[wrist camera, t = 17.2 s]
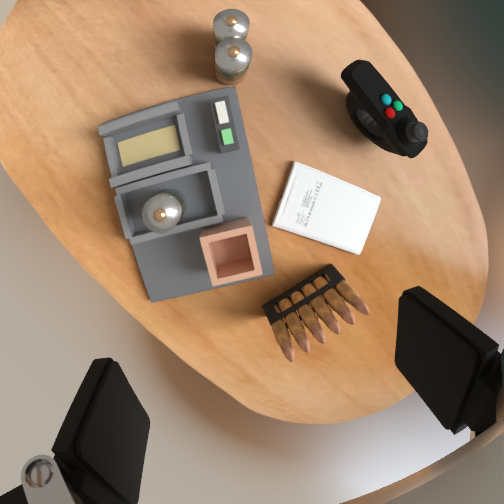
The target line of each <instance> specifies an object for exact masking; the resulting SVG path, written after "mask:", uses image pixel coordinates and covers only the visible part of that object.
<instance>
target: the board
mask: <svg viewBox="0 0 504 504" xmlns="http://www.w3.org/2000/svg"><path fill="white" fill-rule="evenodd" d="M102 124H103V125H102V126H99V127H98V130H99V135H100V136H104V137H105V138H103V140H104V145H105V150H106V155H107V159H108V164H109V169H110V173H111V177H112V178H110V179H109V182H110V186H111V188H112V187H116V189H115V190H116V194H117V196H114V199H115V203H116V207H117V211H118V214H119V218H120V221H121V225H122V228H123V232H124V235H125V239H128V238H129V241H130V244H131V245H132V247H133V250H134V253H135V257H136V260H137V263H138V266H139V269H140V272H141V275H142V278H143V281H144V283H145V286H146V289H147V292H148V295H149V297H150V300H151V303H152V302H157V301H162V300H166V299H171V298H175V297H180V296H185V295H189V294H193V293H198V292H202V291H207V290H211V289H216V288H220V287H224V286H228V285H233V284H237V283H241V282H245V281H250V280H254V279H258V278H262V277H266V276H270V275H275V272H274V267H273V262H272V257H271V252H270V247H269V242H268V237H267V232H266V227H265V222H264V218H263V213H262V208H261V203H260V198H259V194H258V189H257V184H256V179H255V175H254V170H253V165H252V161H251V156H250V151H249V147H248V142H247V138H246V133H245V128H244V124H243V119H242V115H241V111H240V106H239V102H238V97H237V93H236V88H235V86H234V87H229V88H224V89H219V90H214V91H210V92H205V93H201V94H196V95H192V96H188V97H184V98H180V99H177V100H173V101H169V102H166V103H162V104H159V105H155V106H152V107H149V108H145V109H142V110H139V111H136V112H133V113H130V114H127V115H124V116H121V117H118V118H116V119H113V120H110V121H107V122H105V123H102ZM168 189H175V190H178V191H180V192H181V193H182V194H183V195H184V196H185V198H186V202H187V207H186V211H185V213H184V214H183V216H182V218H181V219H180V221H179V222H178V223H177V225H176V226H175V227H174V228H173V229H172V230H171V231H169V232H167V233H162V234H160V233H155V232H153V231H151V230H149V229H148V228H147V227H146V225H145V224H144V222H143V219H142V210H143V207H144V205H145V203H146V202H147V201H148V200H149V199H150V198H152V197H154V196H155V195H157V194H159V193H161V192H163V191H165V190H168ZM246 217H248V219H249V221H250V222H251V224H252V227H253V231H254V236H255V241H256V245H257V250H258V255H259V259H260V264H261V269H262V273H263V275H259V276H255V277H251V278H247V279H243V280H238V281H234V282H230V283H226V284H221V285H217V286H212V282H211V279H210V275H209V271H208V268H207V264H206V261H205V257H204V253H203V249H202V246H201V242H200V238H199V237H200V233H201V229H202V228H204V227H208V226H212V225H216V224H220V223H224V222H229V221H233V220H237V219H242V218H246Z"/></svg>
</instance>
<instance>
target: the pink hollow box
mask: <svg viewBox="0 0 504 504" xmlns="http://www.w3.org/2000/svg"><path fill="white" fill-rule="evenodd" d="M199 238H200V242H201V246H202V249H203V253H204V257H205V261H206V264H207V268H208V271H209V275H210V279H211V282H212V286H217V285H221V284H226V283H230V282H234V281H238V280H243V279H247V278H251V277H255V276H259V275H263V273H262V269H261V264H260V259H259V255H258V250H257V245H256V241H255V236H254V231H253V227H252V224H251V222H250V221H249V219H248V217H246V218H242V219H237V220H233V221H229V222H224V223H220V224H216V225H212V226H208V227H204V228H202V229H201V233H200V237H199Z"/></svg>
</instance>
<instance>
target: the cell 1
mask: <svg viewBox="0 0 504 504" xmlns="http://www.w3.org/2000/svg"><path fill="white" fill-rule="evenodd" d="M186 207H187V202H186V198H185V196H184V195H183V194H182V193H181V192H180V191H178V190H175V189H168V190H165V191H163V192H161V193H159V194H157V195H155V196H154V197H152V198H150V199H149V200H148V201H147V202H146V203H145V205H144V207H143V210H142V219H143V222H144V224H145V225H146V227H147V228H148V229H149V230H151V231H153V232H155V233H160V234H162V233H167V232H169V231H171V230H172V229H173V228H174V227H175V226H176V225H177V223H178V222H179V221H180V219H181V218H182V216H183V214H184V213H185V211H186Z"/></svg>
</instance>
